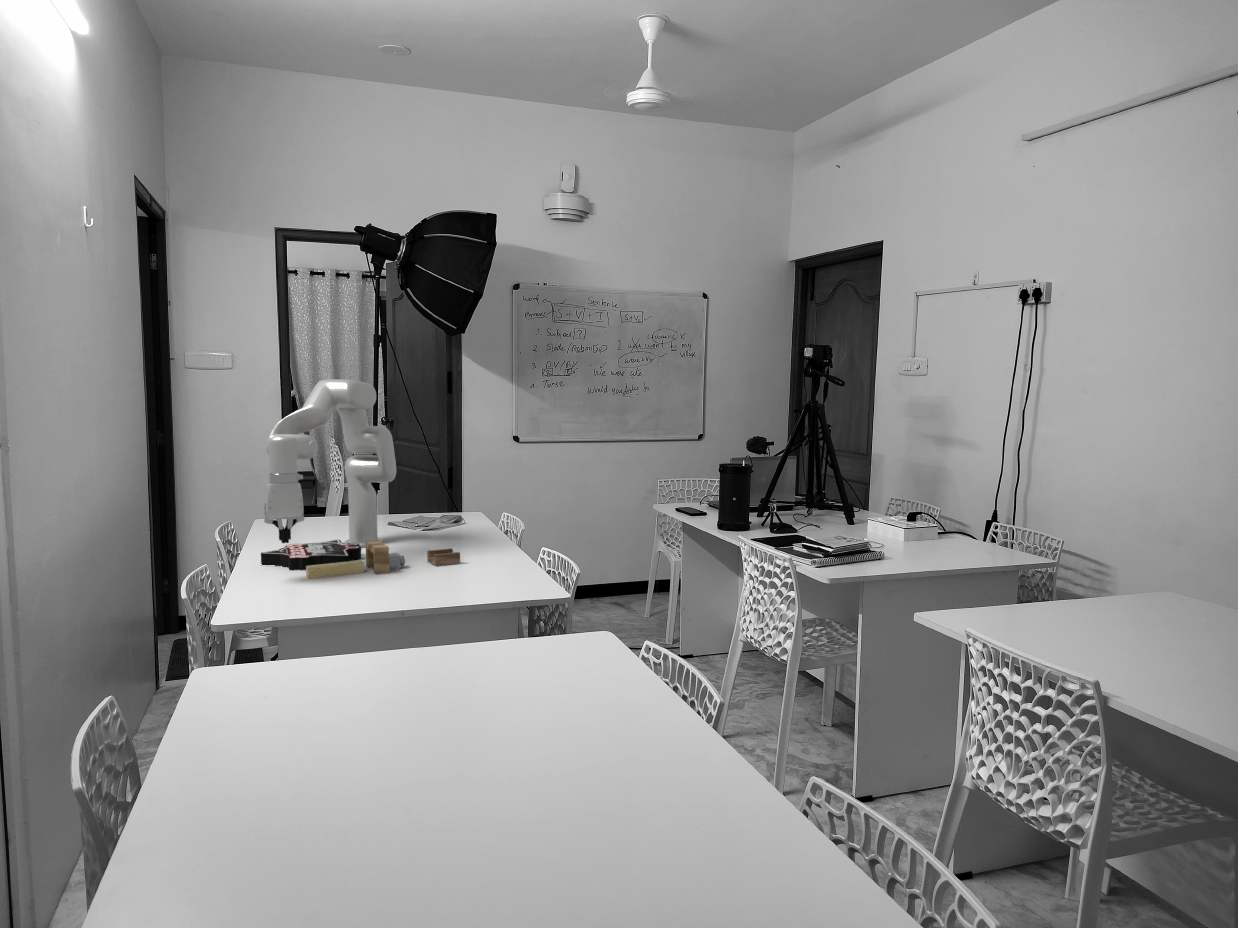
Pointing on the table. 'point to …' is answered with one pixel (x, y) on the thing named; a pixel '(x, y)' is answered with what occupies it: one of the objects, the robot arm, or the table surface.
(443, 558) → the v block
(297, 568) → the wall plaque
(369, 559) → the wooden arch block
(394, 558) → the grey motor
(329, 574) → the bar
